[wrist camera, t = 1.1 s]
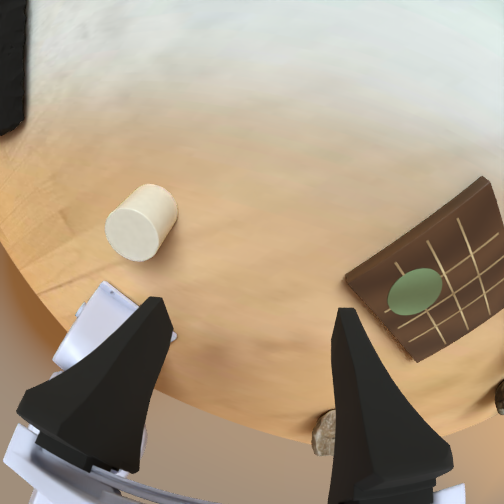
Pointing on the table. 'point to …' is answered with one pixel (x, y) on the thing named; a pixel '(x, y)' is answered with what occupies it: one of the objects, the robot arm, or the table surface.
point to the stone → (324, 435)
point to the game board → (439, 274)
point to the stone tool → (11, 63)
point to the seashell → (500, 399)
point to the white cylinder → (141, 222)
